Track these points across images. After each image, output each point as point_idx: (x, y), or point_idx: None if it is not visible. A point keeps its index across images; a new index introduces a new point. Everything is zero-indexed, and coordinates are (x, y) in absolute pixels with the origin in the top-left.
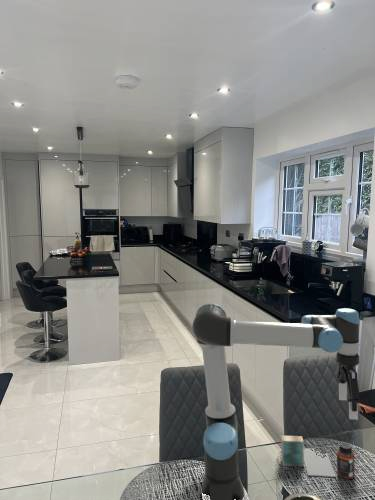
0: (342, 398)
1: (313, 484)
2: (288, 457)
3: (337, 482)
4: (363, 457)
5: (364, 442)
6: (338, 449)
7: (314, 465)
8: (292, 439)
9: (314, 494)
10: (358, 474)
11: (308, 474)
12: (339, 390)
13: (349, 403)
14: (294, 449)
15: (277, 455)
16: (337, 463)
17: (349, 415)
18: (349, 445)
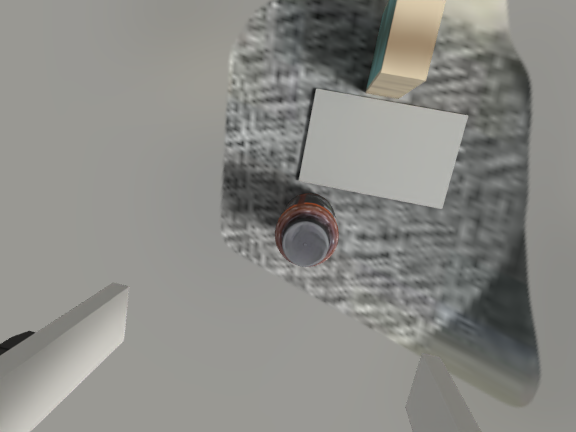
0: (418, 386)
1: (274, 93)
2: (383, 23)
3: (276, 175)
4: (381, 312)
5: (458, 357)
6: (318, 214)
7: (359, 130)
8: (407, 20)
9: (232, 80)
10: None
11: (316, 91)
12: (455, 424)
13: (2, 358)
14: (383, 39)
15: None
16: (311, 197)
17: (100, 295)
18: (302, 260)
